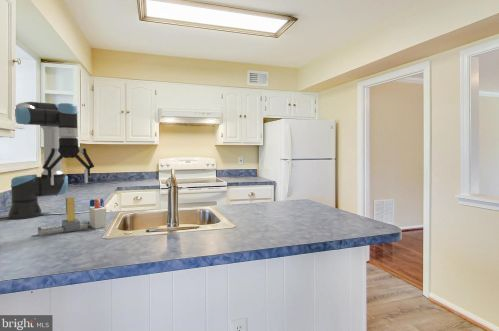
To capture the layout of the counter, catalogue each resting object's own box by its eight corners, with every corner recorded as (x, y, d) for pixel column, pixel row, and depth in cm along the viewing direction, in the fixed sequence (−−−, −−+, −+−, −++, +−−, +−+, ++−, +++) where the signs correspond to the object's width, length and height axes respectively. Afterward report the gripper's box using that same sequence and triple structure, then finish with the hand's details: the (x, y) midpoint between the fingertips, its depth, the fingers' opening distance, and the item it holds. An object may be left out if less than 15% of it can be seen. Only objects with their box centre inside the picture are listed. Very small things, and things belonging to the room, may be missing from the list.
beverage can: (98, 223, 151) (97, 199, 151) (87, 222, 153) (86, 199, 152) (106, 220, 158) (106, 197, 157) (96, 219, 159) (95, 197, 159)
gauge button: (94, 215, 145) (93, 199, 145) (99, 215, 147) (99, 199, 147) (95, 216, 143) (95, 200, 143) (101, 215, 145) (100, 199, 145)
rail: (37, 234, 131) (37, 227, 130) (85, 227, 143) (85, 220, 143) (38, 235, 128) (38, 228, 128) (87, 228, 141) (87, 221, 141)
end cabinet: (89, 224, 147) (89, 206, 147) (100, 223, 151) (100, 205, 150) (95, 228, 140) (94, 209, 140) (106, 226, 143) (106, 208, 143)
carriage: (61, 228, 139) (60, 197, 138) (76, 226, 143) (75, 195, 142) (65, 232, 133) (64, 199, 132) (80, 229, 137) (79, 197, 136)
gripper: (36, 136, 125) (37, 186, 126) (100, 138, 141) (101, 182, 142) (34, 137, 131) (35, 185, 131) (95, 138, 147) (97, 181, 148)
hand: (69, 183), depth 137 cm, fingers open, 13 cm apart
